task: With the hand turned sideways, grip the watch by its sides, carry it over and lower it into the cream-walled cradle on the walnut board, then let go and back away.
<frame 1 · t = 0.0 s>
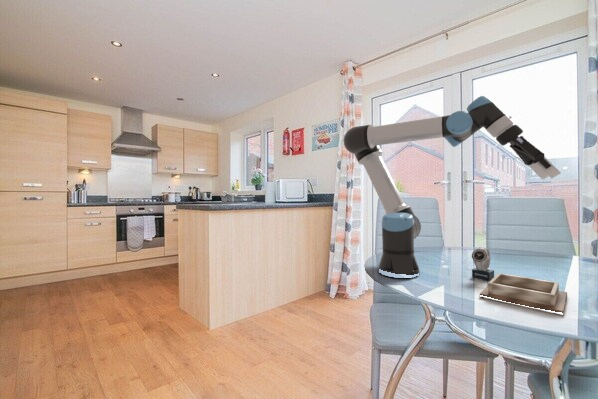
hand: (551, 176, 94), 36 cm above the table, tool tilted 35°, fingers open, 13 cm apart
watch: (483, 278, 100), on the table
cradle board: (523, 296, 82), on the table
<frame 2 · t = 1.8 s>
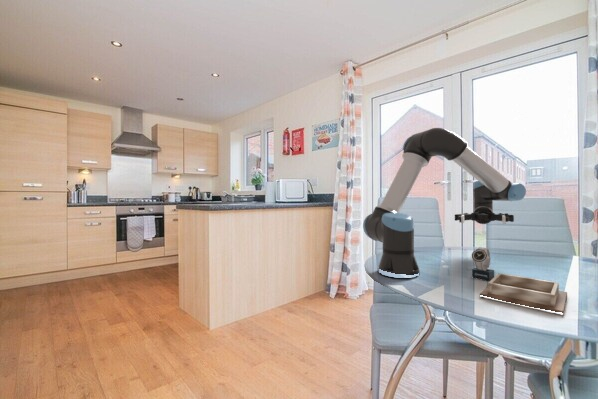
hand: (482, 219, 107), 20 cm above the table, tool horizontal, fingers open, 13 cm apart
nothing on the table moved.
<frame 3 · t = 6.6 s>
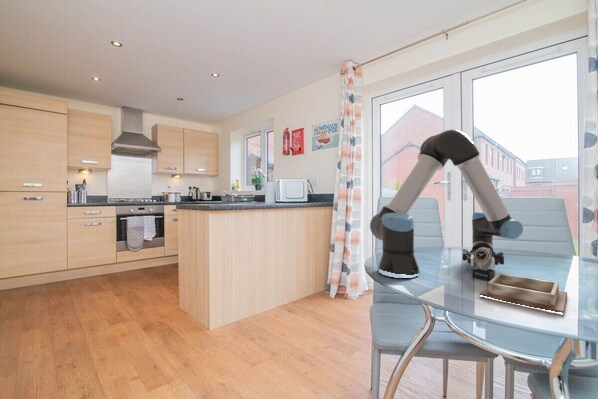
hand: (482, 263, 96), 7 cm above the table, tool horizontal, fingers closed on watch, 5 cm apart
watch: (483, 278, 100), on the table, touching gripper
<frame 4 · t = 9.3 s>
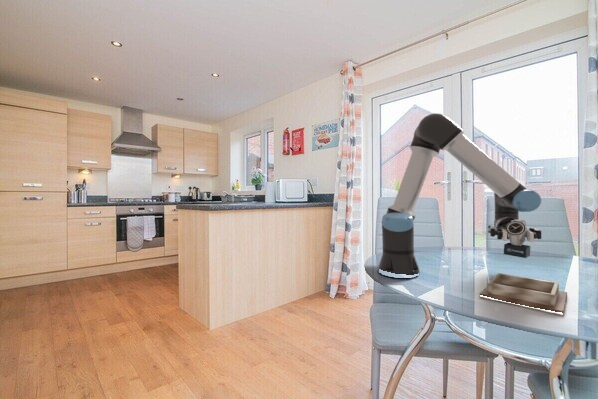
hand: (518, 237, 81), 18 cm above the table, tool horizontal, fingers closed on watch, 5 cm apart
watch: (516, 255, 86), point 11 cm above the table, touching gripper
when the fingers open (9 cm above the table, at t = 12.1 s): watch drops 2 cm, resting on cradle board.
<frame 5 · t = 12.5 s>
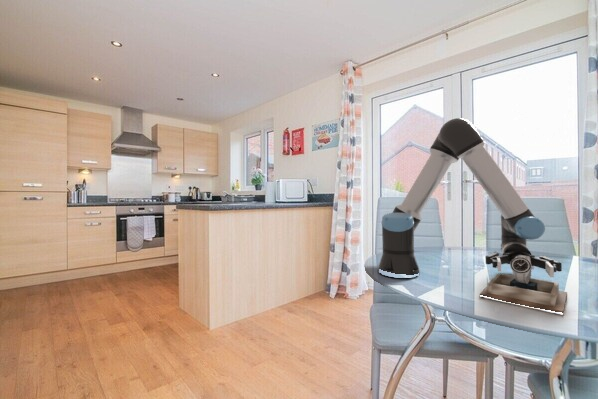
hand: (524, 269, 78), 9 cm above the table, tool horizontal, fingers open, 11 cm apart
watch: (523, 293, 82), point 1 cm above the table, touching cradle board
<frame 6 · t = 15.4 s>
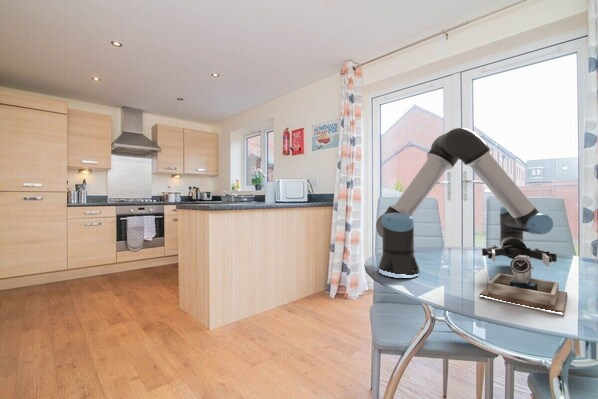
hand: (519, 259, 89), 9 cm above the table, tool horizontal, fingers open, 13 cm apart
nothing on the table moved.
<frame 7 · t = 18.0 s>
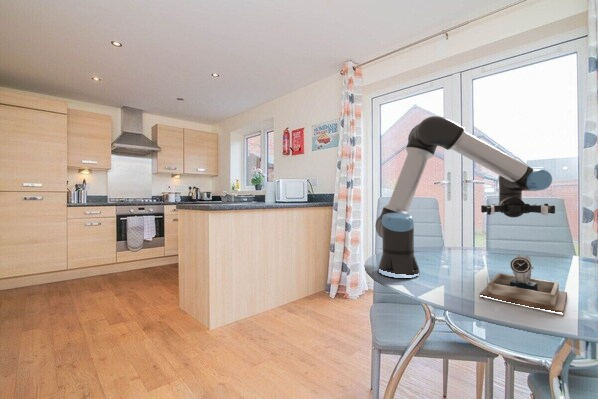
hand: (518, 210, 90), 25 cm above the table, tool horizontal, fingers open, 13 cm apart
nothing on the table moved.
at the end: watch 0.2 cm off-centre on the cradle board, point 1.0 cm above the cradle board's base; watch tilted 0°; the gripper is holding nothing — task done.
